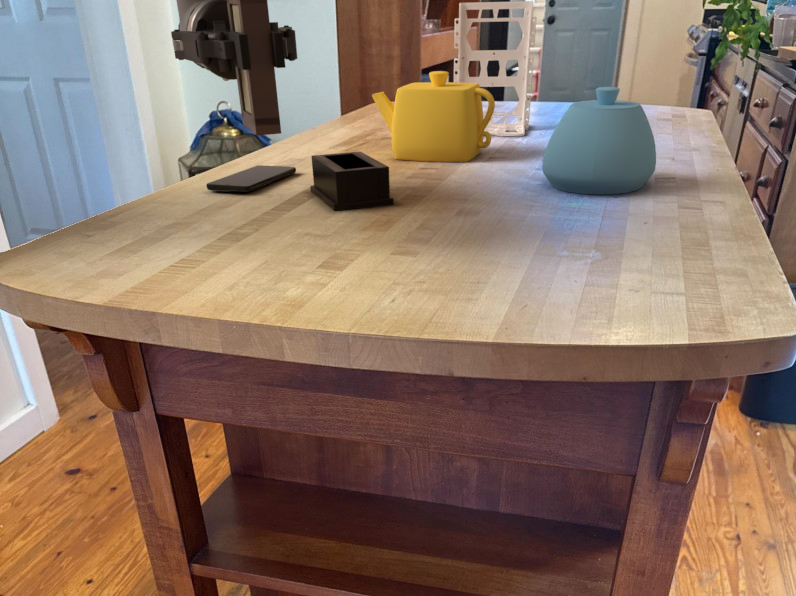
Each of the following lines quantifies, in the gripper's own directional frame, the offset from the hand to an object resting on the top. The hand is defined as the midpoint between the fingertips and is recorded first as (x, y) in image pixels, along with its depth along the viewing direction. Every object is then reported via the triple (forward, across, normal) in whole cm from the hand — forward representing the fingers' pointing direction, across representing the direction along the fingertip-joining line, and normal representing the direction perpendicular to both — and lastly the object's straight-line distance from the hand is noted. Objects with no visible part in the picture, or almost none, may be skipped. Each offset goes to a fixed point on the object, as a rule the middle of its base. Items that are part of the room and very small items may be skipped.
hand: (262, 51), depth 68 cm
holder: (-22, -14, -18) cm, 32 cm away
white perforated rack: (-64, -54, -18) cm, 86 cm away
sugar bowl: (-15, -47, -18) cm, 53 cm away
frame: (-5, 0, -7) cm, 9 cm away
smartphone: (-38, -3, -18) cm, 42 cm away
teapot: (-46, -35, -18) cm, 61 cm away
